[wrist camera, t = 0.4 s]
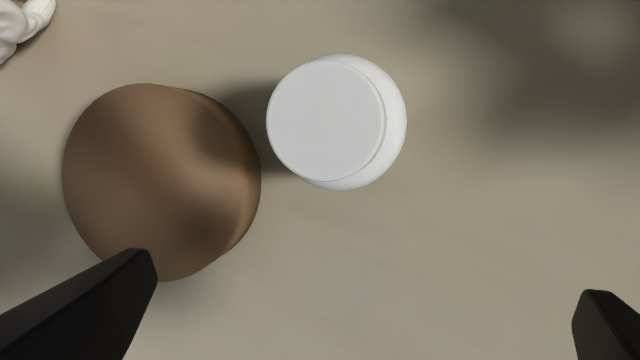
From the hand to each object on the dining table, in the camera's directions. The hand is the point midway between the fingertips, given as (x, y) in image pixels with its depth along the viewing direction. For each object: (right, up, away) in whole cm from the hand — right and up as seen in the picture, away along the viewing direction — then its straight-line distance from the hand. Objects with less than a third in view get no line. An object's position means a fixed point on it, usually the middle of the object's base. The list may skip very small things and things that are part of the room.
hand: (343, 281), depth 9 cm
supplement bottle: (+2, +5, +14) cm, 15 cm away
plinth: (-9, +2, +17) cm, 19 cm away
